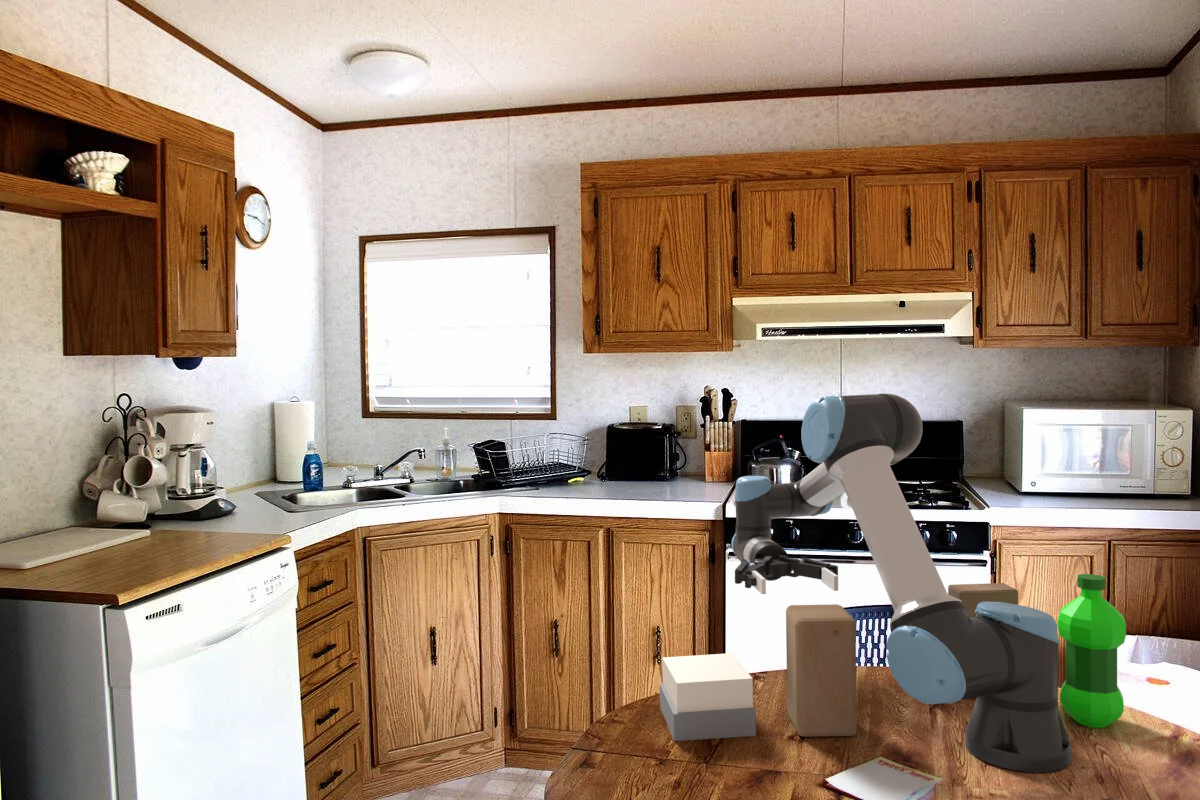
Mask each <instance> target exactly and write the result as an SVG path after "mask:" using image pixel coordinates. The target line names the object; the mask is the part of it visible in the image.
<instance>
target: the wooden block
mask: <svg viewBox="0 0 1200 800" xmlns="http://www.w3.org/2000/svg"><path fill="white" fill-rule="evenodd" d="M856 624H857V623H856V621H855V619H854V618H853V616H851V615H850V614H849V612H848V611H847V610H846V608H844V607H843V606H842V605H840V604H839V603H838V604H791V605H789V606H787V608H786V610H785V626H786V628H785V631H786V633H785V637H786V641H785V644H786V702H787V703H786V705H787V706H786V709H787V710H786V711H787V714H788V716H789V718H790V720H791V723H792V725H793V726H794V729H795V730H796V732H797V735H798V736H801V737H804V738H806V737H853V736H855V735H856V734H857V731H858V727H857V725H858V724H857V723H858V722H857V721H858V719H857V717H858V716H857V715H858V714H857V713H858V712H857V710H858V709H857V707H858V706H857V641H856V640H857V639H856V638H857V632H856V628H857V627H856V626H857V625H856Z"/></svg>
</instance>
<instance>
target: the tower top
mask: <svg viewBox="0 0 1200 800" xmlns="http://www.w3.org/2000/svg"><path fill="white" fill-rule="evenodd" d="M661 660H662V661H661V662H662V663H661V665H662V684H663V686H664V688H665V690H666V692H667V694H668V696H669V697H670V699H671V701H672V703H673V705H674V707H675V709H676V711H677V713H681V712H695V711H710V710H724V709H739V708H753V706H754V700H753V699H754V689H753V688H754V685H753V684H754V683H753V680H754V679H753V677H752V676H751V674H750V673H749V672H748V671H747V669H746V668H745V667H744V666H743V665H742V663H741V662H740V661H739V660H738V659H737V657H736V656H735V655H734V653H732V652H731V653H714V654H711V653H710V654H698V655H681V656H679V655H678V656H666V657H665V656H664V657H662V659H661Z"/></svg>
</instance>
